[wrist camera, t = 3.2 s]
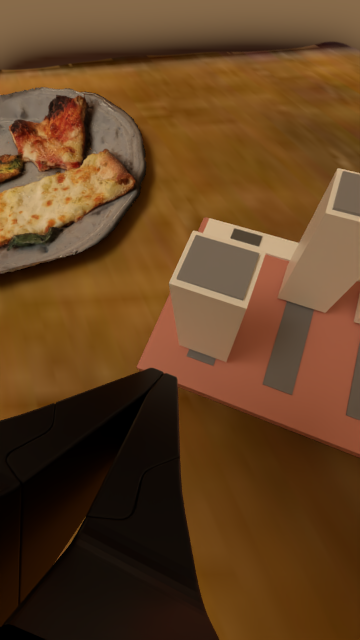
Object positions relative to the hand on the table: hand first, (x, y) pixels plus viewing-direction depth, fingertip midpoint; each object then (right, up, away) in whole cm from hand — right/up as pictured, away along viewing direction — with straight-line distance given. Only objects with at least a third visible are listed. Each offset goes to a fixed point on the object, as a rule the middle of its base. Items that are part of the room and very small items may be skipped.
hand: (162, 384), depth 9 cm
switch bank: (+9, +1, +14) cm, 17 cm away
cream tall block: (+3, +1, +13) cm, 13 cm away
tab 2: (+10, +4, +14) cm, 17 cm away
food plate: (-15, +16, +22) cm, 31 cm away
